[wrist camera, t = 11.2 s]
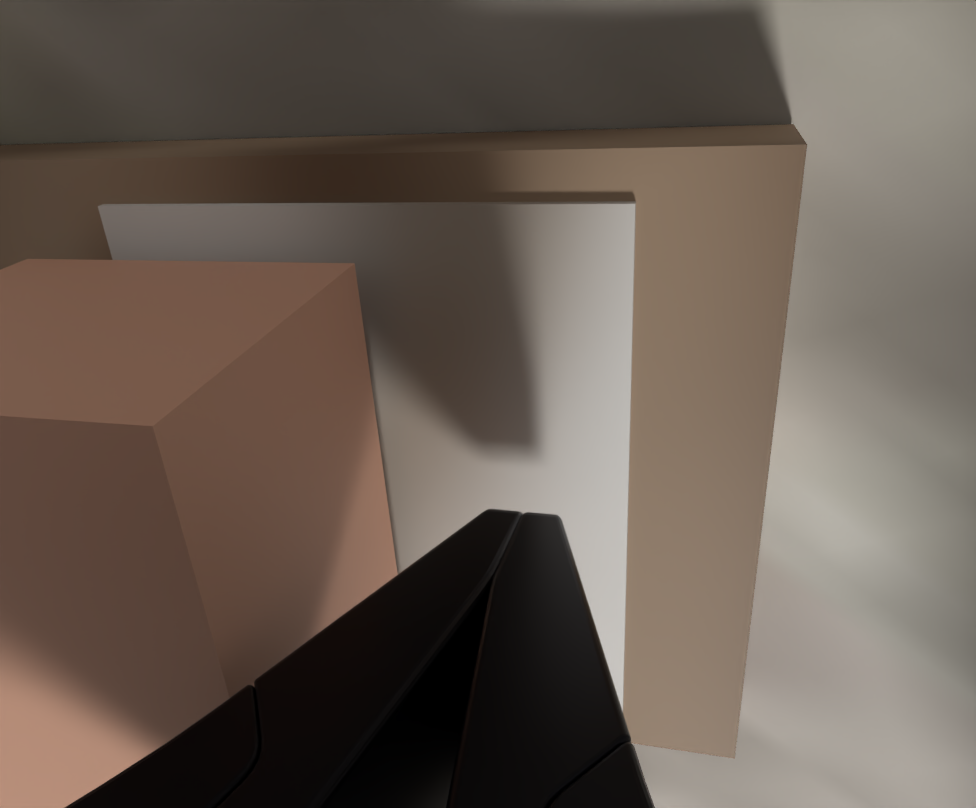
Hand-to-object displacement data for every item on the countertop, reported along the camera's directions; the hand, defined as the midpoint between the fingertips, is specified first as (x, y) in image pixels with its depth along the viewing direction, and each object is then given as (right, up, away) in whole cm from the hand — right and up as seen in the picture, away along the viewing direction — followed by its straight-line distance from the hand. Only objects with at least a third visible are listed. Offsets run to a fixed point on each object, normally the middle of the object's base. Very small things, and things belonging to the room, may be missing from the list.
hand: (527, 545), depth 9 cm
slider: (-4, 0, +1) cm, 4 cm away
